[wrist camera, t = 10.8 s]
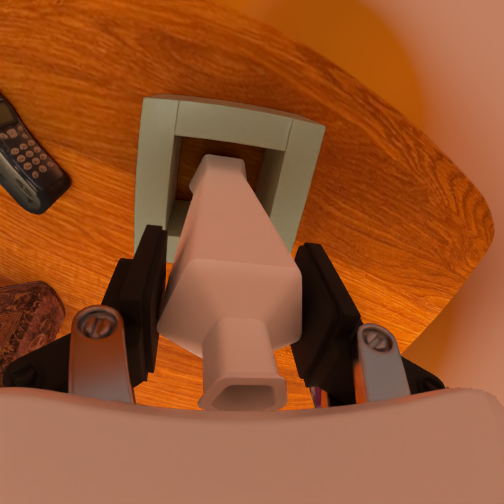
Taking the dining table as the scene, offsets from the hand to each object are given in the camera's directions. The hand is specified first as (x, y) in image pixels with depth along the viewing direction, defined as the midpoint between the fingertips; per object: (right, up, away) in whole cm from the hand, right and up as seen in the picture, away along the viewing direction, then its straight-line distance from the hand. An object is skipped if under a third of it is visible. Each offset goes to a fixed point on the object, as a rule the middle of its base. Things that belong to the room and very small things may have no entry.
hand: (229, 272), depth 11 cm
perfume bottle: (-1, +5, +8) cm, 10 cm away
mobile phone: (-19, +11, +7) cm, 23 cm away
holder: (-2, +7, +12) cm, 14 cm away
